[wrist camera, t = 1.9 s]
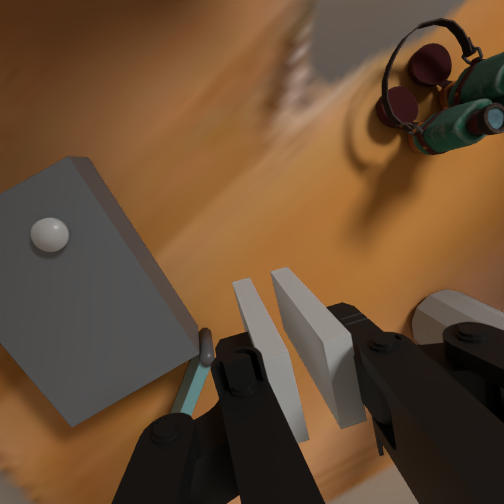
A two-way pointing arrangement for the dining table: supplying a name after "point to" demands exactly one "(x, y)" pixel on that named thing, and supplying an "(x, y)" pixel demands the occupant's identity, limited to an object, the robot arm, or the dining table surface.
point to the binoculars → (447, 96)
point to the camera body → (84, 293)
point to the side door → (195, 375)
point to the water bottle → (450, 315)
